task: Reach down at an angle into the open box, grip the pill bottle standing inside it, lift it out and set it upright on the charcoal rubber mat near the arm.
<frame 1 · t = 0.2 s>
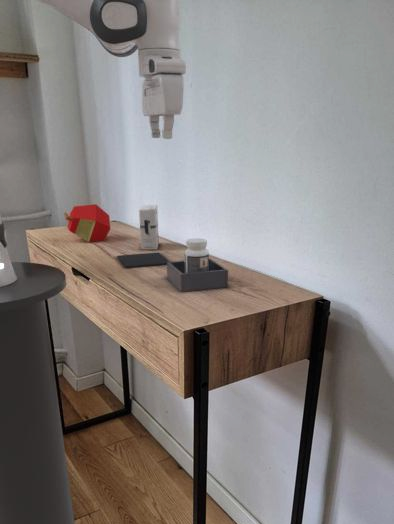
hand: (161, 138, 108), 31 cm above the table, tool pointing down, fingers open, 8 cm apart
pill bottle: (196, 283, 114), resting in open box
ink box: (150, 247, 147), on the table
open box: (196, 282, 113), on the table
mat: (143, 260, 132), on the table
apple: (89, 240, 156), on the table
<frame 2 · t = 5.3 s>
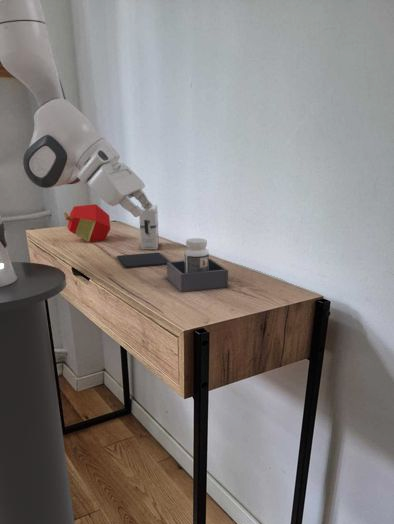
hand: (145, 211, 109), 16 cm above the table, tool tilted 45°, fingers open, 8 cm apart
nothing on the table moved.
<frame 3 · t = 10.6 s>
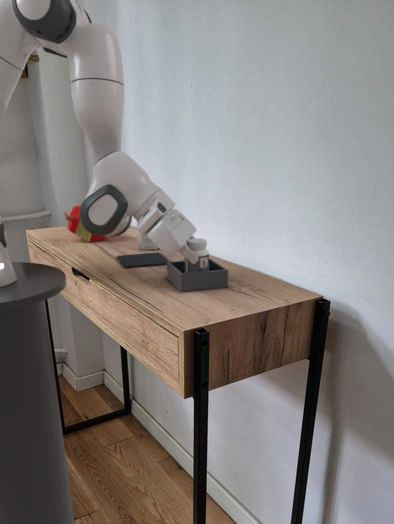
hand: (199, 257, 111), 6 cm above the table, tool tilted 45°, fingers closed on pill bottle, 6 cm apart
pill bottle: (196, 283, 114), resting in open box, touching gripper
everything else where it was.
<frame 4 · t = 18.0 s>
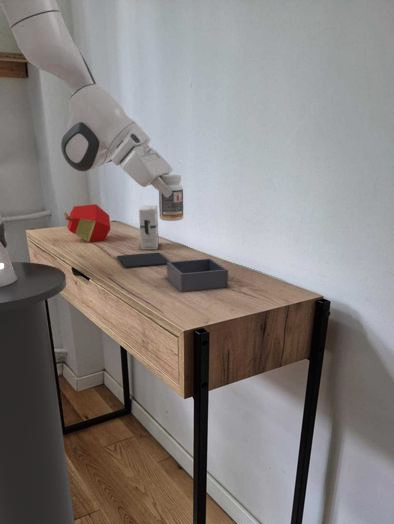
hand: (173, 193, 113), 19 cm above the table, tool tilted 45°, fingers closed on pill bottle, 6 cm apart
pill bottle: (171, 220, 115), point 13 cm above the table, touching gripper
everything else where it was.
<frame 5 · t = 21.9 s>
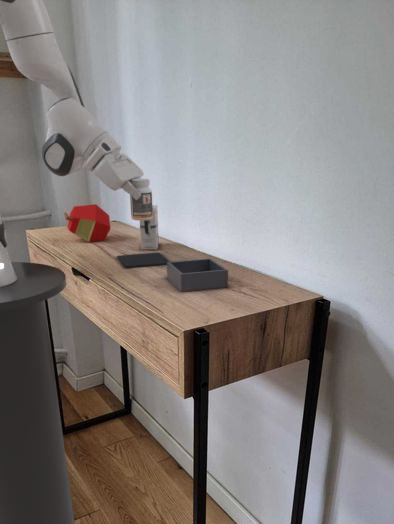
hand: (143, 195, 124), 17 cm above the table, tool tilted 45°, fingers closed on pill bottle, 6 cm apart
pill bottle: (142, 219, 127), point 11 cm above the table, touching gripper
everything else where it was.
when the fingers open (6 cm above the table, at t = 25.3 s): pill bottle stays where it is, resting on mat.
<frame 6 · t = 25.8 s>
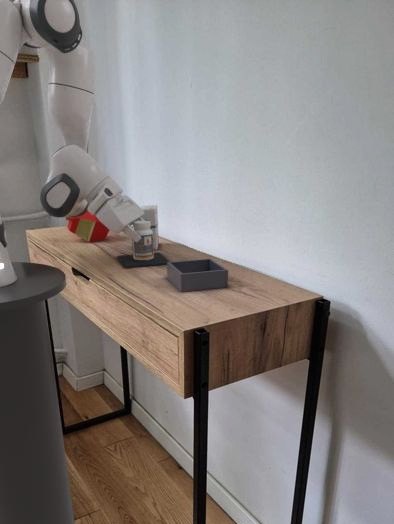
hand: (144, 236, 129), 7 cm above the table, tool tilted 45°, fingers open, 8 cm apart
pill bottle: (143, 259, 132), resting on mat
everything else where it was.
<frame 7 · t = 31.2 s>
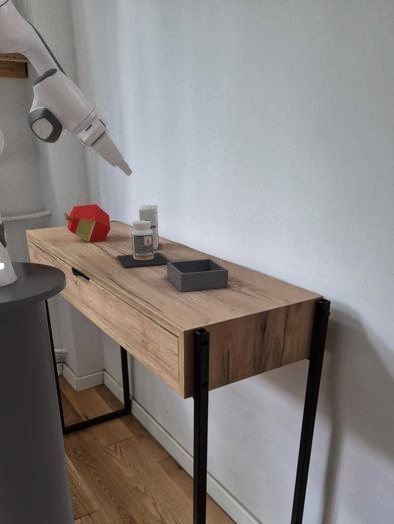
hand: (128, 170, 132), 22 cm above the table, tool tilted 40°, fingers open, 8 cm apart
nothing on the table moved.
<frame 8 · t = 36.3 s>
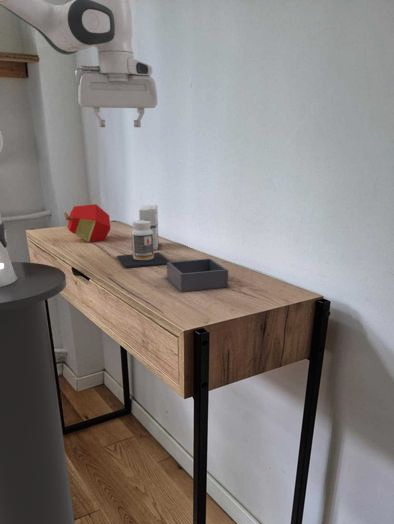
hand: (119, 127, 128), 33 cm above the table, tool pointing down, fingers open, 8 cm apart
nothing on the table moved.
at the end: pill bottle inside the target area on the mat (0.1 cm from its centre), point 0.3 cm above the mat's base; pill bottle tilted 0°; the gripper is holding nothing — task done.
